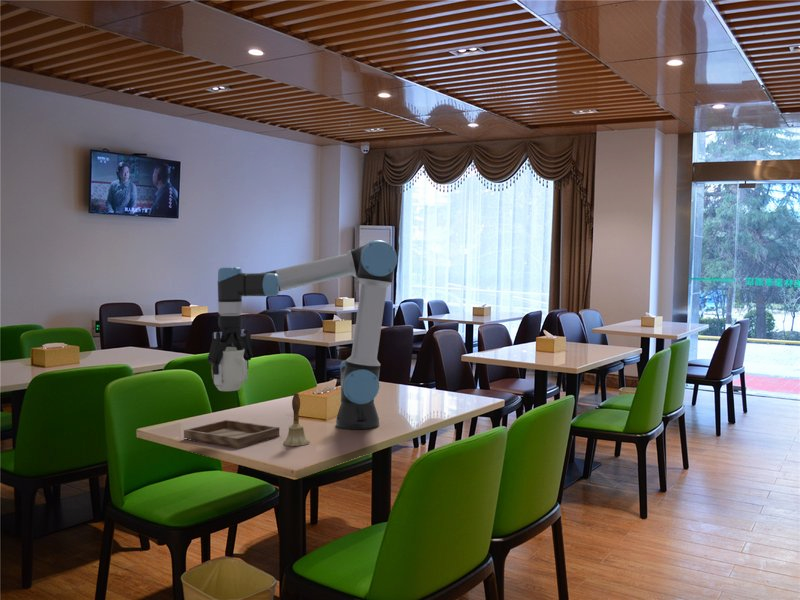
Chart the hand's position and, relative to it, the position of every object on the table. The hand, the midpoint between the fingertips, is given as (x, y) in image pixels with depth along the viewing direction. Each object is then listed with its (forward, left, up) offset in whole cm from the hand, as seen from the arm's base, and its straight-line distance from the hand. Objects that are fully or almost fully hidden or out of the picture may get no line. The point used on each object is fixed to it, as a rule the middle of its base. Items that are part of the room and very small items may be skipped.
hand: (231, 382), depth 241 cm
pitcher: (0, 0, -3) cm, 3 cm away
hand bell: (-23, -5, -19) cm, 30 cm away
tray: (0, 0, -18) cm, 18 cm away
